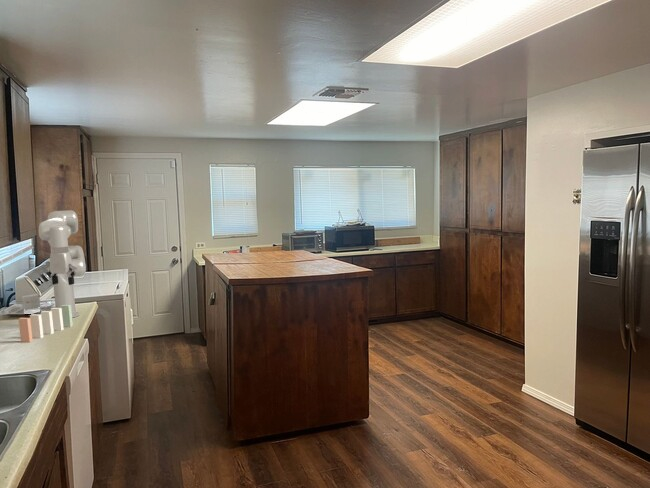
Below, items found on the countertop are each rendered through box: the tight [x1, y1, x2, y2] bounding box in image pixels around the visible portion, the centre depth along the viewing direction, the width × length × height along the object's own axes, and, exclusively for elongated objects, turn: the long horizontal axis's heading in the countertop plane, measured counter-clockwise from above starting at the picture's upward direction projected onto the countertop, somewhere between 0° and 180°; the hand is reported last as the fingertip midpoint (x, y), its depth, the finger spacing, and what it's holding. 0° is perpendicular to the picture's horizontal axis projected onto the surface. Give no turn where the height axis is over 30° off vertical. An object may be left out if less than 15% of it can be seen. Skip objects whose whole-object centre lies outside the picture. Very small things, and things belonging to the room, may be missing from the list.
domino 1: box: [18, 317, 34, 343], centre depth 222 cm, size 2×5×11 cm, turn 75°
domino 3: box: [40, 310, 55, 335], centre depth 234 cm, size 2×5×11 cm, turn 76°
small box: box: [20, 293, 41, 310], centre depth 278 cm, size 8×6×10 cm
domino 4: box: [50, 307, 65, 332], centre depth 240 cm, size 2×5×11 cm, turn 76°
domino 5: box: [60, 305, 74, 328], centre depth 246 cm, size 2×5×11 cm, turn 76°
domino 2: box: [29, 313, 44, 339], centre depth 228 cm, size 2×5×11 cm, turn 76°
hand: (63, 284), depth 244 cm, fingers open, 9 cm apart
